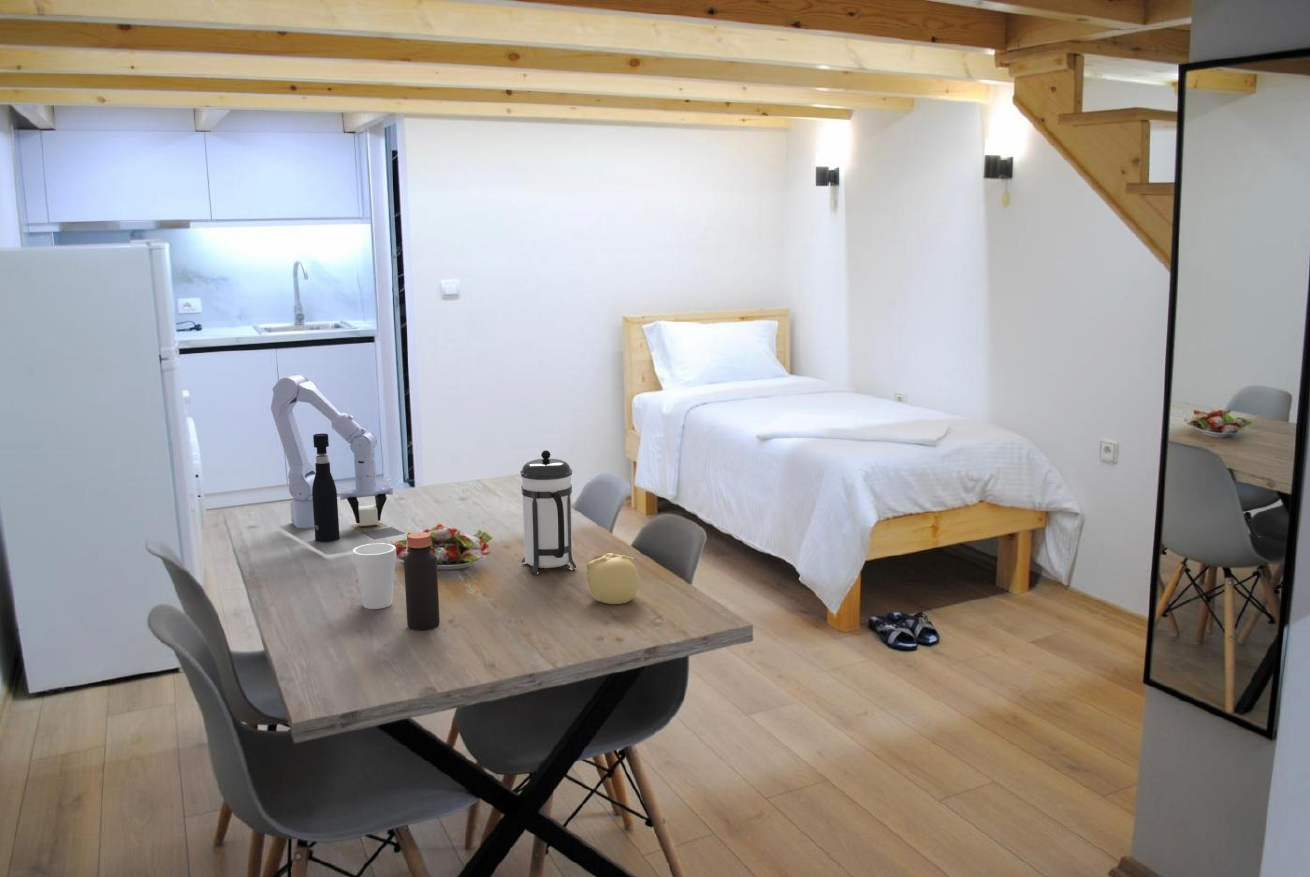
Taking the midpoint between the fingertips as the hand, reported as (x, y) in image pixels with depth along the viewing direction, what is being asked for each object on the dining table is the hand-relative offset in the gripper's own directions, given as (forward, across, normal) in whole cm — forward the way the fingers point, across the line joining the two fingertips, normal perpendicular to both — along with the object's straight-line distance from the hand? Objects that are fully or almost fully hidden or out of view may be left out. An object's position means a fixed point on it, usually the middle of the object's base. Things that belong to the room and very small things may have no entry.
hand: (368, 521), depth 303 cm
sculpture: (+2, -38, +88) cm, 96 cm away
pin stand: (+2, 0, 0) cm, 2 cm away
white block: (0, 0, 0) cm, 0 cm away
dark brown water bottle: (+2, +5, +84) cm, 84 cm away
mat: (+2, -2, +10) cm, 10 cm away
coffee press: (+2, -34, +59) cm, 68 cm away
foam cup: (+2, +11, +66) cm, 67 cm away
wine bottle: (+2, +13, +9) cm, 16 cm away
